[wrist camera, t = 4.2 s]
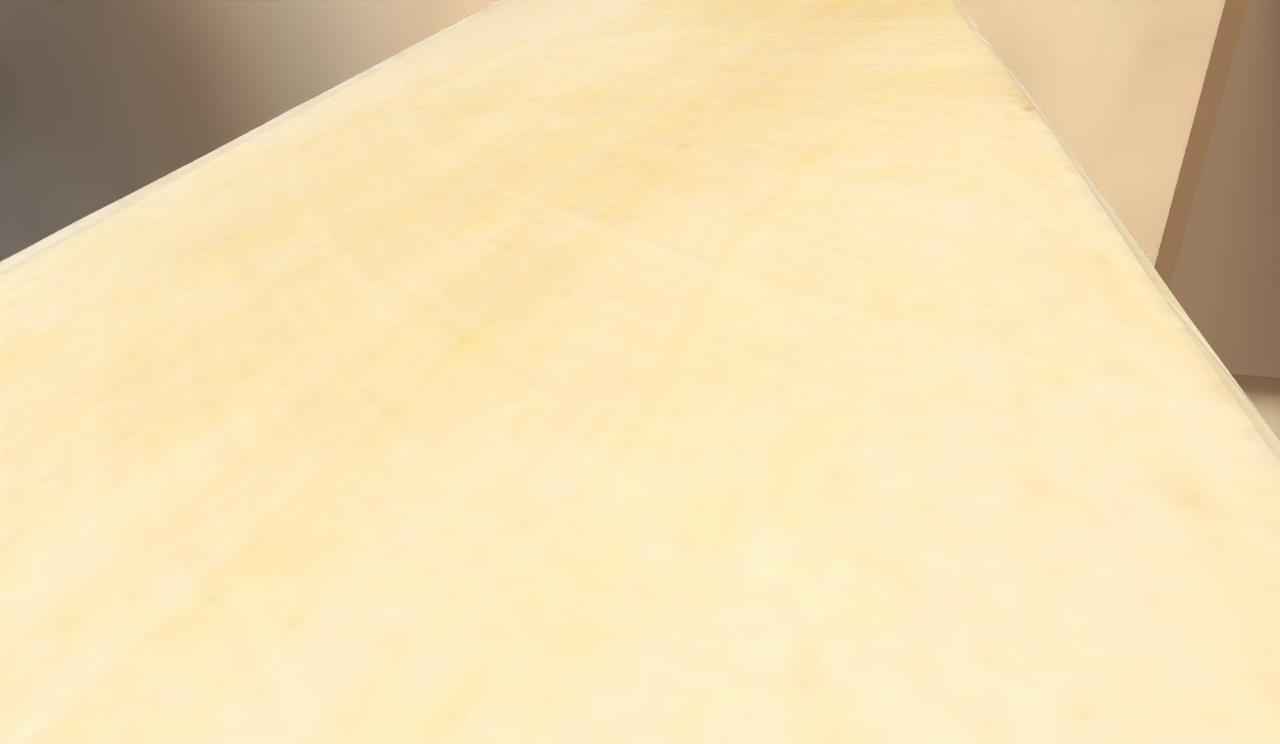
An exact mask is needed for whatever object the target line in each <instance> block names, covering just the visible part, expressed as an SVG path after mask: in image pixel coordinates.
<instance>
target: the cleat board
mask: <svg viewBox="0 0 1280 744" xmlns="http://www.w3.org/2000/svg"><path fill="white" fill-rule="evenodd" d="M1155 270H1156V271H1157V273H1158V274H1159V275H1160V277H1161V278H1162V280H1163V281H1164V282H1165V284H1166V285H1167V287H1168V288H1169V290H1170V291H1171V292H1172V294H1173V295H1174V297H1175V298H1176V300H1177V301H1178V302H1179V304H1180V305H1181V307H1182V308H1183V309H1184V311H1185V312H1186V314H1187V315H1188V317H1189V318H1190V319H1191V321H1192V322H1193V324H1194V325H1195V326H1196V328H1197V329H1198V330H1199V332H1200V333H1201V334H1202V336H1203V337H1204V339H1205V340H1206V341H1207V343H1208V344H1209V345H1210V347H1211V348H1212V349H1213V351H1214V352H1215V353H1216V355H1217V356H1218V357H1219V359H1220V360H1221V362H1222V363H1223V364H1224V366H1225V367H1226V368H1227V370H1228V371H1229V372H1230V374H1236V375H1249V376H1261V377H1273V378H1280V0H1226V3H1225V7H1224V10H1223V14H1222V18H1221V22H1220V25H1219V29H1218V33H1217V37H1216V40H1215V44H1214V48H1213V52H1212V55H1211V59H1210V63H1209V67H1208V70H1207V74H1206V78H1205V82H1204V85H1203V89H1202V93H1201V97H1200V100H1199V104H1198V108H1197V112H1196V115H1195V119H1194V123H1193V127H1192V130H1191V134H1190V138H1189V142H1188V145H1187V149H1186V153H1185V157H1184V160H1183V164H1182V168H1181V171H1180V175H1179V179H1178V183H1177V186H1176V190H1175V194H1174V198H1173V201H1172V205H1171V209H1170V213H1169V216H1168V220H1167V224H1166V228H1165V231H1164V235H1163V239H1162V243H1161V246H1160V250H1159V254H1158V258H1157V261H1156V265H1155Z"/></svg>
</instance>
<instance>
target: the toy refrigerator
mask: <svg viewBox="0 0 1280 744" xmlns="http://www.w3.org/2000/svg"><path fill="white" fill-rule="evenodd" d="M0 744H1280V440H1279V438H1278V437H1277V436H1276V434H1275V433H1274V432H1273V430H1272V429H1271V428H1270V426H1269V425H1268V424H1267V422H1266V421H1265V420H1264V418H1263V417H1262V416H1261V414H1260V413H1259V412H1258V410H1257V409H1256V408H1255V406H1254V405H1253V404H1252V402H1251V401H1250V399H1249V398H1248V397H1247V395H1246V394H1245V393H1244V391H1243V390H1242V389H1241V387H1240V386H1239V385H1238V383H1237V382H1236V381H1235V379H1234V378H1233V376H1232V375H1231V374H1230V372H1229V371H1228V370H1227V368H1226V367H1225V366H1224V364H1223V363H1222V362H1221V360H1220V359H1219V357H1218V356H1217V355H1216V353H1215V352H1214V351H1213V349H1212V348H1211V347H1210V345H1209V344H1208V343H1207V341H1206V340H1205V339H1204V337H1203V336H1202V334H1201V333H1200V332H1199V330H1198V329H1197V328H1196V326H1195V325H1194V324H1193V322H1192V321H1191V319H1190V318H1189V317H1188V315H1187V314H1186V312H1185V311H1184V309H1183V308H1182V307H1181V305H1180V304H1179V302H1178V301H1177V300H1176V298H1175V297H1174V295H1173V294H1172V292H1171V291H1170V290H1169V288H1168V287H1167V285H1166V284H1165V282H1164V281H1163V280H1162V278H1161V277H1160V275H1159V274H1158V273H1157V271H1156V270H1155V268H1154V267H1153V265H1152V264H1151V263H1150V261H1149V260H1148V258H1147V257H1146V256H1145V254H1144V253H1143V251H1142V250H1141V249H1140V247H1139V246H1138V244H1137V243H1136V242H1135V240H1134V239H1133V238H1132V236H1131V235H1130V233H1129V232H1128V231H1127V229H1126V228H1125V226H1124V225H1123V224H1122V222H1121V221H1120V220H1119V218H1118V217H1117V215H1116V214H1115V213H1114V211H1113V210H1112V209H1111V207H1110V206H1109V204H1108V203H1107V202H1106V200H1105V199H1104V197H1103V196H1102V195H1101V193H1100V192H1099V191H1098V189H1097V188H1096V186H1095V185H1094V184H1093V182H1092V181H1091V179H1090V178H1089V177H1088V175H1087V174H1086V173H1085V171H1084V170H1083V168H1082V167H1081V166H1080V164H1079V163H1078V161H1077V160H1076V159H1075V157H1074V156H1073V155H1072V153H1071V152H1070V150H1069V149H1068V148H1067V146H1066V145H1065V143H1064V142H1063V141H1062V139H1061V138H1060V137H1059V135H1058V134H1057V132H1056V131H1055V130H1054V128H1053V127H1052V125H1051V124H1050V123H1049V121H1048V120H1047V119H1046V117H1045V116H1044V114H1043V113H1042V112H1041V110H1040V109H1039V108H1038V106H1037V105H1036V103H1035V102H1034V101H1033V99H1032V98H1031V97H1030V95H1029V94H1028V92H1027V91H1026V90H1025V88H1024V87H1023V86H1022V84H1021V83H1020V82H1019V81H1018V79H1017V78H1016V77H1015V76H1014V75H1013V73H1012V72H1011V71H1010V70H1009V68H1008V66H1007V65H1006V63H1005V62H1004V61H1003V59H1002V58H1001V57H1000V56H999V54H998V53H997V52H996V51H995V49H994V48H993V47H992V46H991V44H990V43H989V42H988V40H987V39H986V38H985V37H984V35H983V34H982V33H981V32H980V31H979V29H978V27H977V25H976V23H975V22H974V21H973V19H972V18H971V17H970V16H969V14H968V13H967V12H966V10H965V9H964V8H963V7H962V5H961V4H960V3H959V1H958V0H498V1H496V2H494V3H492V4H491V5H489V6H487V7H485V8H483V9H482V10H480V11H478V12H476V13H474V14H472V15H470V16H468V17H466V18H464V19H462V20H460V21H458V22H457V23H455V24H453V25H451V26H449V27H447V28H445V29H443V30H441V31H439V32H437V33H436V34H434V35H432V36H430V37H428V38H426V39H424V40H422V41H420V42H418V43H416V44H414V45H412V46H410V47H409V48H407V49H405V50H403V51H401V52H399V53H397V54H395V55H393V56H391V57H390V58H388V59H386V60H384V61H382V62H380V63H378V64H376V65H374V66H373V67H371V68H369V69H367V70H365V71H363V72H361V73H359V74H357V75H356V76H354V77H352V78H350V79H348V80H346V81H344V82H342V83H340V84H339V85H337V86H335V87H333V88H331V89H329V90H327V91H325V92H323V93H322V94H320V95H318V96H316V97H314V98H312V99H310V100H308V101H306V102H304V103H302V104H300V105H298V106H296V107H294V108H292V109H290V110H288V111H286V112H284V113H283V114H281V115H279V116H277V117H275V118H274V119H272V120H270V121H268V122H266V123H265V124H263V125H261V126H259V127H257V128H255V129H253V130H251V131H249V132H248V133H246V134H244V135H242V136H240V137H238V138H236V139H234V140H232V141H231V142H229V143H227V144H225V145H223V146H221V147H219V148H217V149H215V150H214V151H212V152H210V153H208V154H206V155H204V156H202V157H200V158H198V159H196V160H195V161H193V162H191V163H189V164H187V165H185V166H183V167H181V168H179V169H177V170H175V171H173V172H171V173H170V174H168V175H166V176H164V177H162V178H160V179H158V180H156V181H154V182H152V183H150V184H148V185H146V186H144V187H142V188H141V189H139V190H137V191H135V192H133V193H131V194H129V195H127V196H125V197H123V198H121V199H119V200H117V201H115V202H113V203H111V204H109V205H107V206H105V207H103V208H101V209H99V210H97V211H95V212H93V213H91V214H90V215H88V216H86V217H84V218H82V219H80V220H78V221H76V222H74V223H72V224H70V225H68V226H67V227H65V228H63V229H61V230H59V231H57V232H55V233H54V234H52V235H50V236H48V237H46V238H44V239H42V240H40V241H39V242H37V243H35V244H33V245H31V246H29V247H27V248H26V249H24V250H22V251H20V252H18V253H16V254H14V255H12V256H10V257H8V258H6V259H4V260H2V261H0Z"/></svg>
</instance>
